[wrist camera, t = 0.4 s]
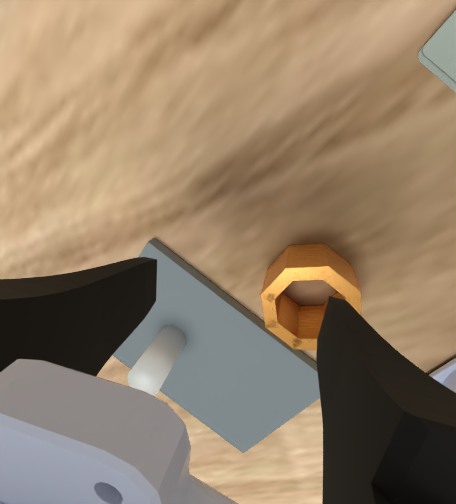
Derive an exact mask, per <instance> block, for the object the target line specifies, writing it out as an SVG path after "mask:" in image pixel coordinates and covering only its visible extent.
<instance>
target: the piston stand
mask: <svg viewBox="0 0 456 504" xmlns="http://www.w3.org/2000/svg"><path fill="white" fill-rule="evenodd" d="M139 257H148V258H152V259H157V290H156V302H155V303H154V305H153V307H152V308H151V310H150V311H149V313H148V314H147V316H146V317H145V319H144V320H143V321H142V322H141V323H140V324H139V326H138V327H137V328H136V329H135V330H134V331H133V332H132V333H131V335H130V336H129V337H128V338H127V339H126V340H125V341H124V342H123V343H122V345H121V346H120V347H119V348H118V349H117V350H116V351H115V352H114V354H113V356H114V357H116V358H117V359H118V360H120V361H121V362H122V363H124V364H125V365H126V366H128V367H129V368H130V369H131V370H130V372H129V373H128V376H127V380H128V383H129V385H130V387H132V388H135V389H138V390H141V391H145V392H147V393H148V394H150V395H152V396H154V395H156V394H157V393H158V391H159V390H160V391H161V392H162V393H164V394H165V395H166V396H168V397H169V398H170V399H172V400H173V401H174V402H176V403H177V404H178V405H180V406H181V407H182V408H184V409H185V410H186V411H188V412H189V413H190V414H192V415H193V416H194V417H196V418H197V419H198V420H200V421H201V422H202V423H204V424H205V425H206V426H208V427H209V428H210V429H212V430H213V431H214V432H216V433H217V434H218V435H220V436H221V437H222V438H224V439H225V440H226V441H228V442H229V443H230V444H232V445H233V446H234V447H236V448H237V449H238V450H240V451H241V452H242V453H244V452H246V451H247V450H248V449H250V448H251V447H253V446H254V445H255V444H257V443H258V442H259V441H261V440H262V439H264V438H265V437H266V436H268V435H269V434H270V433H272V432H273V431H275V430H276V429H277V428H279V427H280V426H282V425H283V424H284V423H286V422H287V421H288V420H290V419H291V418H293V417H294V416H295V415H297V414H298V413H300V412H301V411H302V410H304V409H305V408H306V407H308V406H309V405H311V404H312V403H313V402H315V401H316V400H318V399H319V398H320V390H319V381H318V372H317V363H316V362H315V361H313V360H312V359H311V358H309V357H308V356H307V355H306V354H304V353H303V352H302V351H300V350H299V349H295V350H294V349H293V348H292V347H290V346H289V345H288V344H287V343H285V342H284V341H283V340H281V339H280V338H279V337H277V336H276V335H275V334H274V333H272V332H271V331H270V330H268V329H267V328H265V323H264V322H263V321H261V320H260V319H259V318H258V317H256V316H255V315H254V314H252V313H251V312H250V311H248V310H247V309H246V308H245V307H243V306H242V305H241V304H239V303H238V302H237V301H235V300H234V299H233V298H232V297H230V296H229V295H228V294H226V293H225V292H224V291H222V290H221V289H220V288H219V287H217V286H216V285H215V284H213V283H212V282H211V281H210V280H208V279H207V278H206V277H204V276H203V275H202V274H200V273H199V272H198V271H197V270H195V269H194V268H193V267H191V266H190V265H189V264H187V263H186V262H185V261H184V260H182V259H181V258H180V257H178V256H177V255H176V254H174V253H173V252H172V251H171V250H169V249H168V248H167V247H165V246H164V245H163V244H161V243H160V242H159V241H158V240H156V239H155V238H153V239H152V240H150V241H149V242H148V243H147V245H146V246H145V248H144V249H143V251H142V253H141V254H140V256H139Z"/></svg>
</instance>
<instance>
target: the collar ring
mask: <svg viewBox="0 0 456 504" xmlns="http://www.w3.org/2000/svg"><path fill="white" fill-rule="evenodd" d="M300 280H324V281H325V282H327V283H328V284H329V285H330V286H332V287H333V288H334V289H335V290H337V291H338V292H337V293H336V294H334V295H333V296H332V297H334V298H339V299H344V300H346V301H348V302H349V303H350V304H351V305H352V307H353V308H354V309H355V310H356V311H357V312H358V313H359V314H360V315H361V290H360V288H359V285H358V282H357V280H356V277H355V275H354V272H353V269H352V267H351V264H349V263H348V262H347V261H346V260H344V259H343V258H342V257H341V256H339V255H338V254H337V253H335V252H334V251H333V250H332V249H330V248H329V247H328V246H327V245H325V244H324V243H319V244H305V245H292V246H288V247H287V248H286V249H285V250H284V252H283V253H282V254H281V255H280V256H279V257H278V258H277V259H276V260H275V261H274V263H273V264H272V265H271V266H270V267H269V268H268V270H267V273H266V277H265V281H264V284H263V288H262V292H261V298H262V306H263V313H264V320H265V328H267V329H268V330H270V331H271V332H272V333H274V334H275V335H276V336H277V337H279V338H280V339H281V340H283V341H284V342H285V343H287V344H288V345H289V346H290V347H292V348H293V349H294V350H295V349H304V350H317V339H318V335H319V331H320V328H321V324H322V321H323V317H324V314H325V310H326V306H327V303H328V301H327V302H326V303H325V304H323V305H320V306H299V305H297V304H296V303H295V302H294V301H292V300H291V299H290V298H288V297H287V296H286V295H284V294H283V293H282V291H283V290H284V289H285V288H286V287H287V286H288V285H289V284H290V283H291V282H292V281H300Z"/></svg>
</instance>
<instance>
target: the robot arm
mask: <svg viewBox="0 0 456 504" xmlns="http://www.w3.org/2000/svg"><path fill="white" fill-rule="evenodd" d="M156 290H157V259H152V258H148V257H138V258H133V259H128V260H124V261H120V262H116V263H112V264H108V265H104V266H100V267H96V268H91V269H87V270H82V271H78V272H72V273H67V274H60V275H53V276H45V277H33V278H21V279H0V504H238V503H236V502H235V501H233V500H231V499H230V498H228V497H226V496H225V495H223V494H222V493H220V492H218V491H217V490H215V489H213V488H212V487H210V486H208V485H207V484H205V483H204V482H202V481H200V480H199V479H197V478H195V477H194V476H192V475H191V474H189V460H190V450H191V445H190V441H189V437H188V433H187V429H186V425H185V424H184V422H183V421H182V420H181V418H180V417H179V416H178V415H177V414H176V413H175V412H174V410H173V409H172V408H171V407H170V406H169V405H168V404H167V403H166V402H164V401H162V400H160V399H158V398H156V397H154V396H152V395H150V394H148V393H147V392H145V391H141V390H138V389H135V388H132V387H128V386H125V385H122V384H118V383H115V382H112V381H109V380H105V379H102V378H99V377H96V376H97V374H98V373H99V371H100V370H101V369H102V367H103V366H104V364H105V363H106V362H107V361H108V359H109V358H110V357H111V356H112V355H113V354H114V352H115V351H116V350H117V349H118V348H119V347H120V346H121V345H122V343H123V342H124V341H125V340H126V339H127V338H128V337H129V336H130V335H131V333H132V332H133V331H134V330H135V329H136V328H137V327H138V326H139V324H140V323H141V322H142V321H143V320H144V319H145V317H146V316H147V314H148V313H149V311H150V310H151V308H152V307H153V305H154V303H155V302H156ZM317 372H318V381H319V390H320V399H321V408H322V418H323V504H456V358H455V359H453V360H451V361H450V362H448V363H447V364H445V365H443V366H442V367H440V368H439V369H437V370H436V371H434V372H432V373H431V374H429V375H428V374H426V373H425V372H424V371H422V370H421V369H419V368H418V367H417V366H415V365H414V364H413V363H412V362H410V361H409V360H408V359H406V358H405V357H404V356H403V355H401V354H400V353H399V352H398V351H397V350H395V349H394V348H393V347H392V346H391V345H390V344H389V343H388V342H387V341H386V340H384V339H383V338H382V337H381V336H380V335H379V334H378V333H377V332H376V331H375V330H374V329H373V328H372V327H371V326H370V325H369V324H368V323H367V322H366V321H365V320H364V318H363V317H362V316H361V315H360V314H359V313H358V312H357V311H356V310H355V309H354V308H353V307H352V305H351V304H350V303H349V302H348V301H346V300H344V299H339V298H334V297H330V296H329V299H328V303H327V306H326V310H325V314H324V317H323V321H322V324H321V328H320V331H319V335H318V339H317Z"/></svg>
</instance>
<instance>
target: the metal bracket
mask: <svg viewBox="0 0 456 504" xmlns="http://www.w3.org/2000/svg"><path fill="white" fill-rule="evenodd" d="M418 58H419V62H421V63H422V64H423V65H424V66H425V67H427V68H428V69H429V70H430V71H431V72H432V73H434V74H435V75H436V76H437V77H438V78H439V79H441V80H442V81H443V82H444V83H445V84H446V85H448V86H449V87H450V88H451V89H452V90H453V91H455V92H456V10H455V11H454V12H453V13H452V14H451V15H450V17H449V18H448V19H447V20H446V21H445V22H444V23H443V24H442V26H441V27H440V28H439V29H438V30H437V31H436V32H435V33H434V35H433V36H432V37H431V38H430V39H429V40H428V41H427V42H426V44H425V45H424V46H423V47H422V48H421V50H420V51H419V54H418Z"/></svg>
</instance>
